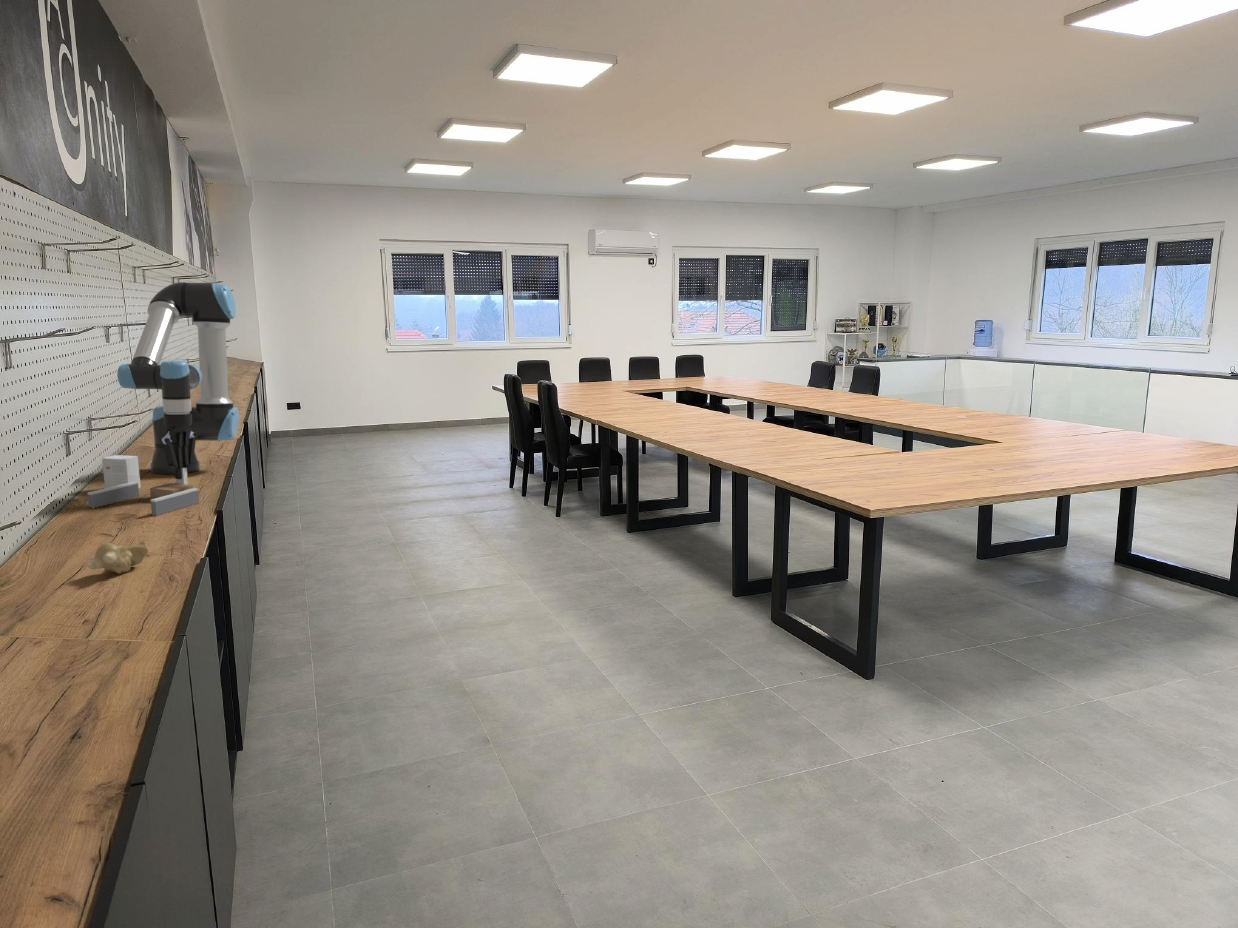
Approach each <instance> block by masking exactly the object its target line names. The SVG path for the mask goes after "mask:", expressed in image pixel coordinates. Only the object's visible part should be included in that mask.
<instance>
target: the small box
mask: <svg viewBox="0 0 1238 928" xmlns="http://www.w3.org/2000/svg"><path fill="white" fill-rule="evenodd" d="M101 459H102V460H101V461H102V470H103V480H104V489H105V488H109V487H113V486H117V485H122V484H126V483H130V482H138V488H139V490H140V489H141V479H140V477H141V476H140V468H139V467H140V466H139V457H138V455H121V454H114V455H109V456H105V457H103V458H101Z"/></svg>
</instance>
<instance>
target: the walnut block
mask: <svg viewBox="0 0 1238 928" xmlns="http://www.w3.org/2000/svg"><path fill="white" fill-rule="evenodd" d="M192 488H194V485H193V484H188V485H187V484H177V482H175V483H174V482H169V483H164V484H161V485H157V486H152V487H150V488H149V490H150V491H149V492H150V493H149V494H150V501H151V500H152V499H155V498H159V497H163V496H166V495H170V494H174V493H177V492H181V491H185V490H188V489H192Z"/></svg>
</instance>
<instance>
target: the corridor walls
mask: <svg viewBox="0 0 1238 928" xmlns="http://www.w3.org/2000/svg"><path fill="white" fill-rule="evenodd" d="M139 491H140V489H139V488H138V482H130V483H126V484H122V485H117V486H113V487H109V488H105V487H104V488H102V489H97V490H93V491H88V492H87V499H88V500H87V501H88V508H89V507H97V508H99V507H98V506H101V505H105V506H107V504H109V505H113V504H115V503H114V502H116V503H119V501H120V502H122V501H123V502H124V501H127V500H126V499H128V500H130V499H131V498H132V499H135V498H138V497H140V492H139ZM199 497H200V496H199V488H196V487H193V488H192V489H188V490H185V491H181V492H177V493H174V494H170V495H166V496H163V497H159V498H155V499H152V500H151V499H150V509H151V516H153V517H159V516H161V515H165V514H167V513H171V512H174V511H178V510H181V509H184V508H188V507H191V506H194V505H198V504H200V498H199ZM132 499H131V500H132ZM101 507H102V506H101Z"/></svg>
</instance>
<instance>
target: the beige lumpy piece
mask: <svg viewBox="0 0 1238 928" xmlns="http://www.w3.org/2000/svg"><path fill="white" fill-rule="evenodd" d="M148 552H149V548H148V545H147V544H146V540H142V541H140V542H139V543H136V544H133V545H132V546H131V545H130V546H128V547H125V546H123V545H117V544H115V543H112V542H107V543H106V542H105V543H103V544H101V545H100V546H98V547H97V549H96V550H95V554H94V559H92V561H90V562H89V563H87V568H88V569H91V570H98V569H104V570H105V571H108V572H109V571H110V572H114V573H117V574H119V575H120V574H124V573H128V572H129V571H130V570H131V567H135V566H137V565H139V564H141V562H143V559H144V558H145V557H146V556H148V554H149V553H148Z"/></svg>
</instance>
